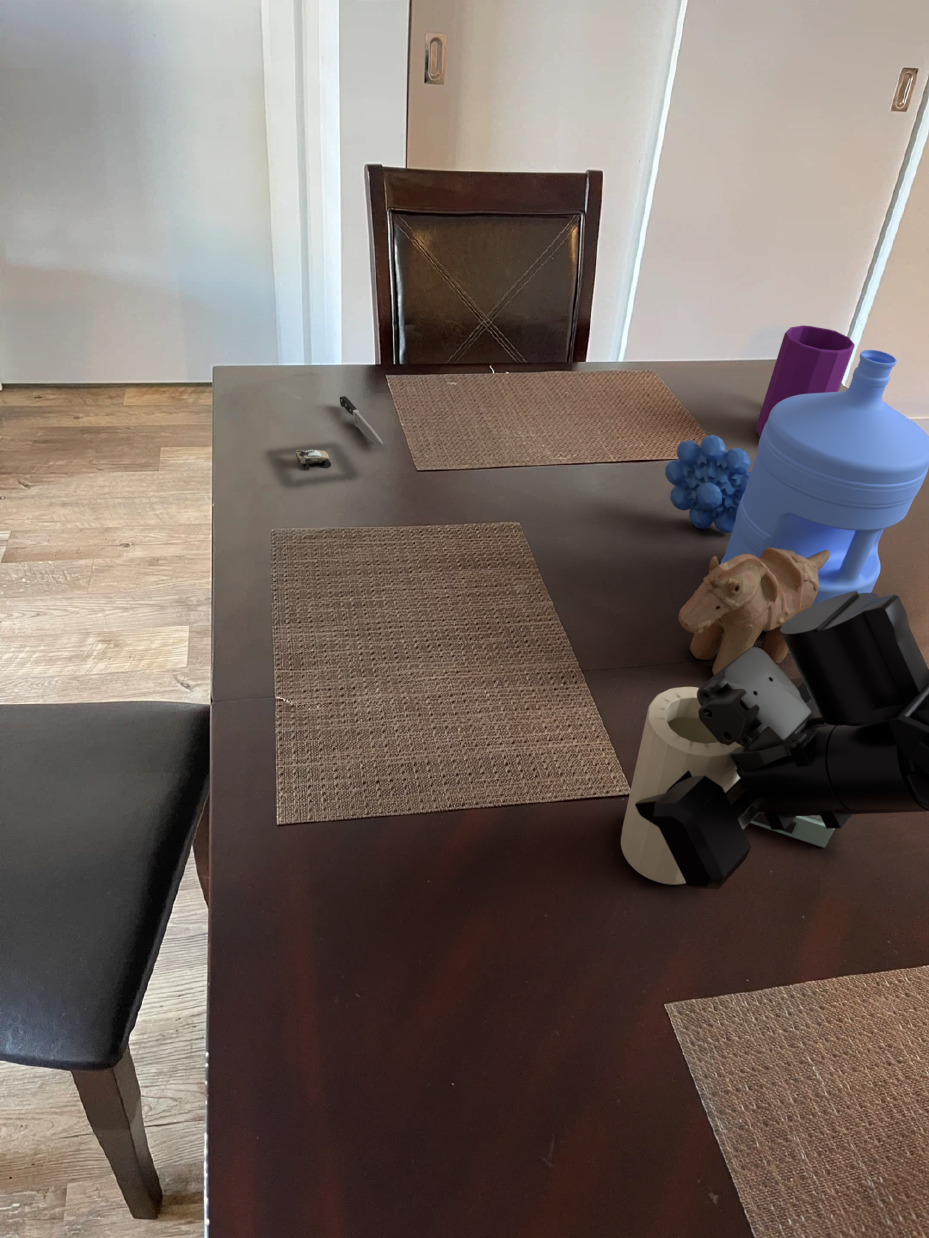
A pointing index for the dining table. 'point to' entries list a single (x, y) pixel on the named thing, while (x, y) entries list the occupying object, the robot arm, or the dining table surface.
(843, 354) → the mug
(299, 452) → the toy car
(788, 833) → the scale
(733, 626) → the figurine
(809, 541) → the water jug
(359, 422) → the knife
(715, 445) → the blue knobby flower
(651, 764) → the jar
